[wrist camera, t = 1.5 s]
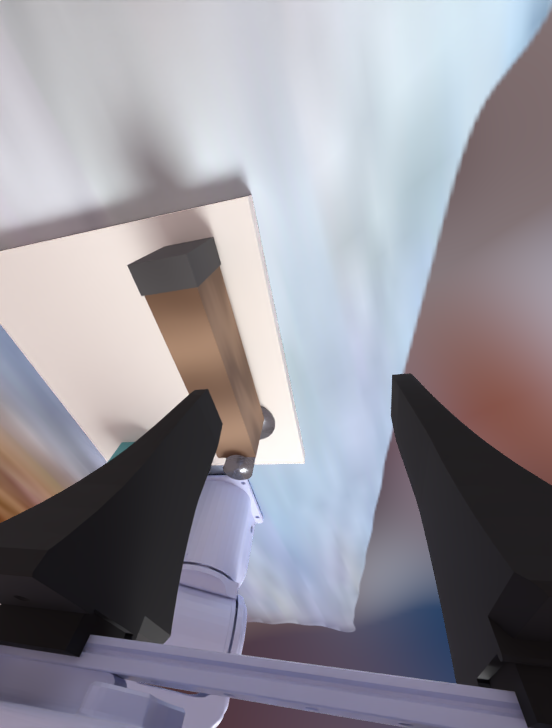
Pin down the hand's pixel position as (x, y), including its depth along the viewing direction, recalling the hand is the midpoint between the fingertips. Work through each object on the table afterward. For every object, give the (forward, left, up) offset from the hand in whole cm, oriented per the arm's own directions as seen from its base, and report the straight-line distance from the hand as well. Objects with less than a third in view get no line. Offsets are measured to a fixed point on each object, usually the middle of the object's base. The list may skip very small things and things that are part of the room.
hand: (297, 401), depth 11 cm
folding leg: (-3, +6, -9) cm, 11 cm away
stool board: (-5, +13, -11) cm, 18 cm away
